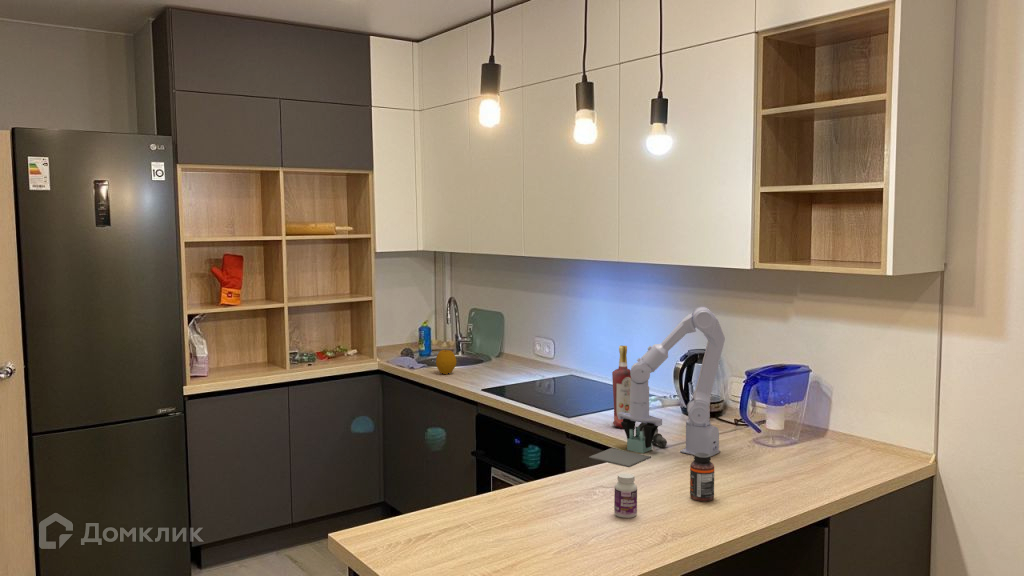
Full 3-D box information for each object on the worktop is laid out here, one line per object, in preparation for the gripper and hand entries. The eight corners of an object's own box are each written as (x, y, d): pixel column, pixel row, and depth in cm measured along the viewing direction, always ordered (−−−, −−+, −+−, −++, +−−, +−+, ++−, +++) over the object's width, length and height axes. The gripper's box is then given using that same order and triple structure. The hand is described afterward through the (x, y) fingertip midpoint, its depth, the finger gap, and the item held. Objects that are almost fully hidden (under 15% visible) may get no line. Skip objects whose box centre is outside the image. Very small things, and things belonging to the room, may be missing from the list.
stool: (651, 449, 243) (652, 428, 242) (642, 453, 239) (642, 432, 238) (636, 446, 246) (636, 425, 246) (627, 450, 242) (627, 429, 242)
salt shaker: (643, 439, 255) (666, 457, 245) (633, 431, 252) (655, 449, 242) (654, 425, 255) (677, 441, 245) (644, 417, 252) (666, 433, 242)
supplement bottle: (687, 494, 202) (688, 451, 202) (711, 494, 202) (711, 451, 201) (692, 502, 197) (692, 457, 196) (716, 502, 196) (717, 457, 195)
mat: (650, 457, 234) (650, 456, 234) (629, 467, 225) (629, 465, 225) (611, 449, 243) (611, 447, 243) (588, 458, 234) (588, 456, 234)
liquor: (618, 430, 265) (618, 348, 263) (608, 425, 272) (608, 345, 270) (637, 428, 268) (637, 347, 266) (627, 423, 275) (627, 344, 272)
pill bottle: (621, 520, 185) (622, 480, 184) (610, 512, 190) (610, 473, 189) (641, 516, 187) (641, 476, 186) (629, 509, 192) (629, 470, 191)
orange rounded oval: (461, 373, 369) (460, 349, 368) (445, 376, 362) (445, 351, 361) (447, 371, 376) (446, 347, 375) (431, 374, 369) (431, 349, 368)
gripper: (667, 402, 240) (666, 446, 241) (626, 396, 249) (626, 438, 250) (655, 406, 234) (655, 451, 236) (614, 400, 244) (614, 443, 245)
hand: (639, 445), depth 242 cm, fingers closed on stool, 5 cm apart
